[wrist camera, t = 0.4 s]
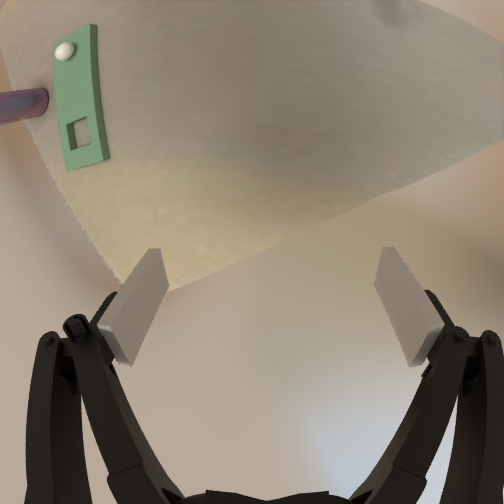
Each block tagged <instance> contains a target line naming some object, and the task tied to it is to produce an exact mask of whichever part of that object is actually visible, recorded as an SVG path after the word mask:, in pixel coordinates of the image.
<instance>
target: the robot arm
mask: <svg viewBox="0 0 504 504" xmlns="http://www.w3.org/2000/svg"><path fill="white" fill-rule="evenodd" d="M374 286H375V288H376V290H377V292H378V295H379V297H380V299H381V301H382V303H383V305H384V307H385V310H386V312H387V314H388V316H389V318H390V321H391V323H392V325H393V328H394V330H395V332H396V335H397V337H398V340H399V342H400V345H401V347H402V350H403V352H404V355H405V357H406V360H407V363H408V365H409V367H414V366H419V365H422V364H423V362H424V361H425V359H426V357H427V358H428V360H429V364H428V366H427V367H426V369H425V371H424V372H423V374H422V375H421V377H423V378H422V380H421V383H420V385H419V387H418V389H417V392H416V394H415V396H414V399H413V400H412V403H411V405H410V407H409V409H408V411H407V413H406V415H405V417H404V419H403V421H402V422H401V424H400V426H399V428H398V430H397V432H396V433H395V435H394V437H393V439H392V440H391V442H390V444H389V446H388V447H387V449H386V451H385V452H384V454H383V455H382V457H381V458H380V460H379V461H378V463H377V465H376V466H375V468H374V469H373V471H372V472H371V473H370V475H369V476H368V478H367V479H366V480H365V481H364V482H363V484H361V485H360V487H358V489H357V490H356V491H355V492H354V493H353V494H352V496H351V497H350V498H349V499H345V498H342V497H339V496H335V495H329V491H323V492H313V493H301V494H300V493H299V494H296V495H291V496H288V497H283V498H280V499H275V500H269V501H265V500H260V499H256V498H252V497H248V496H244V495H241V494H237V493H230V492H221V491H212V490H206V493H203V494H197V495H193V496H189V497H186V498H185V497H184V496H183V494H182V493H181V492H180V490H179V489H178V488H177V486H176V485H175V484H174V483H173V482H172V481H171V480H170V478H169V477H168V475H167V474H166V472H165V471H164V469H163V467H162V466H161V464H160V463H159V461H158V459H157V457H156V456H155V454H154V452H153V450H152V449H151V447H150V445H149V443H148V441H147V439H146V438H145V436H144V434H143V432H142V430H141V428H140V426H139V424H138V422H137V420H136V418H135V416H134V413H133V411H132V409H131V407H130V405H129V402H128V400H127V398H126V396H125V393H124V391H123V388H122V386H121V384H120V381H119V379H118V376H117V373H116V371H115V368H114V366H113V364H112V361H113V359H114V357H115V359H116V361H117V362H118V364H119V365H124V366H129V367H132V365H133V363H134V361H135V358H136V356H137V354H138V351H139V349H140V347H141V345H142V343H143V340H144V338H145V336H146V334H147V331H148V329H149V327H150V325H151V323H152V320H153V318H154V316H155V314H156V312H157V310H158V308H159V306H160V304H161V302H162V299H163V297H164V295H165V293H166V291H167V289H168V287H169V283H168V279H167V275H166V271H165V267H164V263H163V259H162V254H161V250H160V248H158V249H148V250H147V252H146V253H145V255H144V256H143V257H142V259H141V260H140V261H139V263H138V264H137V266H136V267H135V268H134V270H133V271H132V273H131V274H130V275H129V277H128V278H127V280H126V281H125V283H124V284H123V285H122V287H121V288H120V290H119V291H118V292H113V293H111V294H110V295H109V296H108V297H107V298H106V299H105V300H104V302H103V303H102V305H101V306H100V308H99V310H98V311H97V312H96V314H95V315H94V317H93V318H92V320H91V321H90V323H89V322H88V320H87V318H86V317H85V315H83V314H76V315H73V316H71V317H69V318H68V319H67V320H66V321H65V322H64V324H63V330H64V332H65V333H66V335H67V337H68V338H60V337H59V335H58V334H57V333H56V332H54V331H50V332H48V333H45V334H44V335H43V336H42V337H41V338H40V340H39V343H38V347H37V352H36V356H35V361H34V367H33V372H32V379H31V385H30V392H29V401H28V411H27V423H26V475H27V490H26V496H25V502H24V504H92V499H91V492H90V487H89V481H88V476H87V469H86V462H85V454H84V444H83V433H82V413H81V395H82V398H83V402H84V405H85V409H86V412H87V415H88V419H89V422H90V425H91V428H92V431H93V434H94V437H95V439H96V442H97V445H98V447H99V450H100V452H101V455H102V457H103V460H104V462H105V464H106V467H107V469H108V472H109V475H108V477H107V483H108V485H109V488H110V490H111V492H112V494H113V496H114V498H115V500H116V502H117V503H118V504H416V502H417V501H418V499H419V498H420V496H421V494H422V492H423V491H424V488H425V486H426V483H427V480H426V478H425V476H426V473H427V471H428V469H429V467H430V465H431V463H432V461H433V459H434V456H435V454H436V452H437V450H438V448H439V445H440V443H441V441H442V438H443V436H444V433H445V431H446V428H447V425H448V423H449V420H450V417H451V414H452V411H453V408H454V405H455V402H456V399H457V395H458V402H457V403H458V404H457V415H456V425H455V434H454V440H453V447H452V453H451V458H450V463H449V468H448V472H447V477H446V481H445V485H444V488H443V492H442V495H441V499H440V503H439V504H503V486H504V355H503V349H502V344H501V340H500V338H499V336H498V335H497V334H496V333H495V332H493V331H491V330H486V331H484V332H483V333H482V335H481V337H480V338H478V337H470V336H469V334H468V333H467V331H465V330H464V329H463V328H461V327H458V326H454V324H453V322H452V321H451V319H450V317H449V316H448V314H447V313H446V311H445V309H443V307H442V305H441V303H440V302H439V300H438V299H437V297H436V296H435V295H434V294H433V293H432V292H431V291H430V290H423V288H422V287H421V285H420V284H419V282H418V281H417V279H416V278H415V276H414V275H413V273H412V272H411V270H410V269H409V267H408V266H407V265H406V263H405V262H404V261H403V259H402V258H401V257H400V255H399V254H398V252H397V251H396V250H395V248H394V247H382V252H381V257H380V262H379V266H378V270H377V274H376V279H375V283H374Z"/></svg>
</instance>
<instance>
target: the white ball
mask: <svg viewBox="0 0 504 504" xmlns="http://www.w3.org/2000/svg"><path fill="white" fill-rule="evenodd" d="M73 52H74V46H73V44H71V43H69V42H65V43H62V44H60V45H59V46H58V47H57V49H56V51H55V57H56V59H58V60H59V61H64V60H67V59H68V58H70V57H71V56H72V54H73Z"/></svg>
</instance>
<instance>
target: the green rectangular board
mask: <svg viewBox="0 0 504 504" xmlns="http://www.w3.org/2000/svg"><path fill="white" fill-rule="evenodd" d="M65 42H69V43H71V44H73V46H74V52H73V54H72V56H71V57H70V58H68V59H67V60H64V61H59V60H58V59H56V57H55V51H56V49H57V47H58V46H59V45H60V44H62V43H65ZM53 72H54V90H55V101H56V111H57V119H58V126H59V133H60V139H61V145H62V150H63V155H64V160H65V165H66V170H67V172H68V171H71V170H74V169H77V168H80V167H84V166H87V165H91V164H94V163H98V162H101V161H105V160H107V159H109V152H108V147H107V141H106V135H105V129H104V122H103V115H102V108H101V99H100V90H99V79H98V66H97V42H96V25H93V24H88V25H87V26H85V27H83V28H81V29H79V30H77V31H75V32H74V33H72V34H70V35H68V36H67V37H65V38H63V39H62V40H60V41H58V42H57V43H55V44H54V45H53ZM84 118H87V123H88V130H89V136H90V142H91V144H89V145H86V146H83V147H80V148H77V146H76V140H75V134H74V128H73V123H74V122H77V121H79V120H82V119H84Z"/></svg>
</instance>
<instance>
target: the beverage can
mask: <svg viewBox="0 0 504 504" xmlns="http://www.w3.org/2000/svg"><path fill="white" fill-rule="evenodd" d="M47 103H48V95H47V92H46V91H45V90H44V89H43V88H34V89H25V90H16V91H10V92H3V93H0V126H1V125H5V124H8V123H12V122H16V121H20V120H24V119H29V118H34V117H38V116H40V115H41V114H42V113H43V112H44V111H45V109H46V107H47Z"/></svg>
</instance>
